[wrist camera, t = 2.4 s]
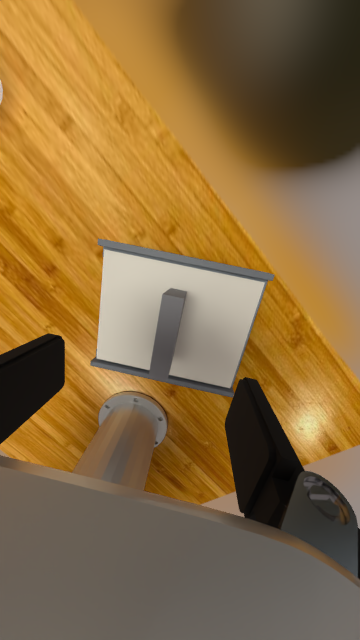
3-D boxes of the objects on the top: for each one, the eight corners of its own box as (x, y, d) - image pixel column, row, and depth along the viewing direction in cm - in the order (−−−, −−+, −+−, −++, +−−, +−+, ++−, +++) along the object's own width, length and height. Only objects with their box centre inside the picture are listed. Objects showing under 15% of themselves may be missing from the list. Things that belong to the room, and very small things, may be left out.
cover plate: (229, 384, 23) (239, 421, 17) (99, 355, 23) (69, 382, 18) (262, 282, 19) (289, 287, 13) (107, 250, 20) (72, 242, 14)
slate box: (223, 367, 29) (232, 398, 22) (115, 343, 29) (90, 366, 22) (252, 272, 25) (274, 273, 18) (125, 246, 25) (98, 237, 18)
